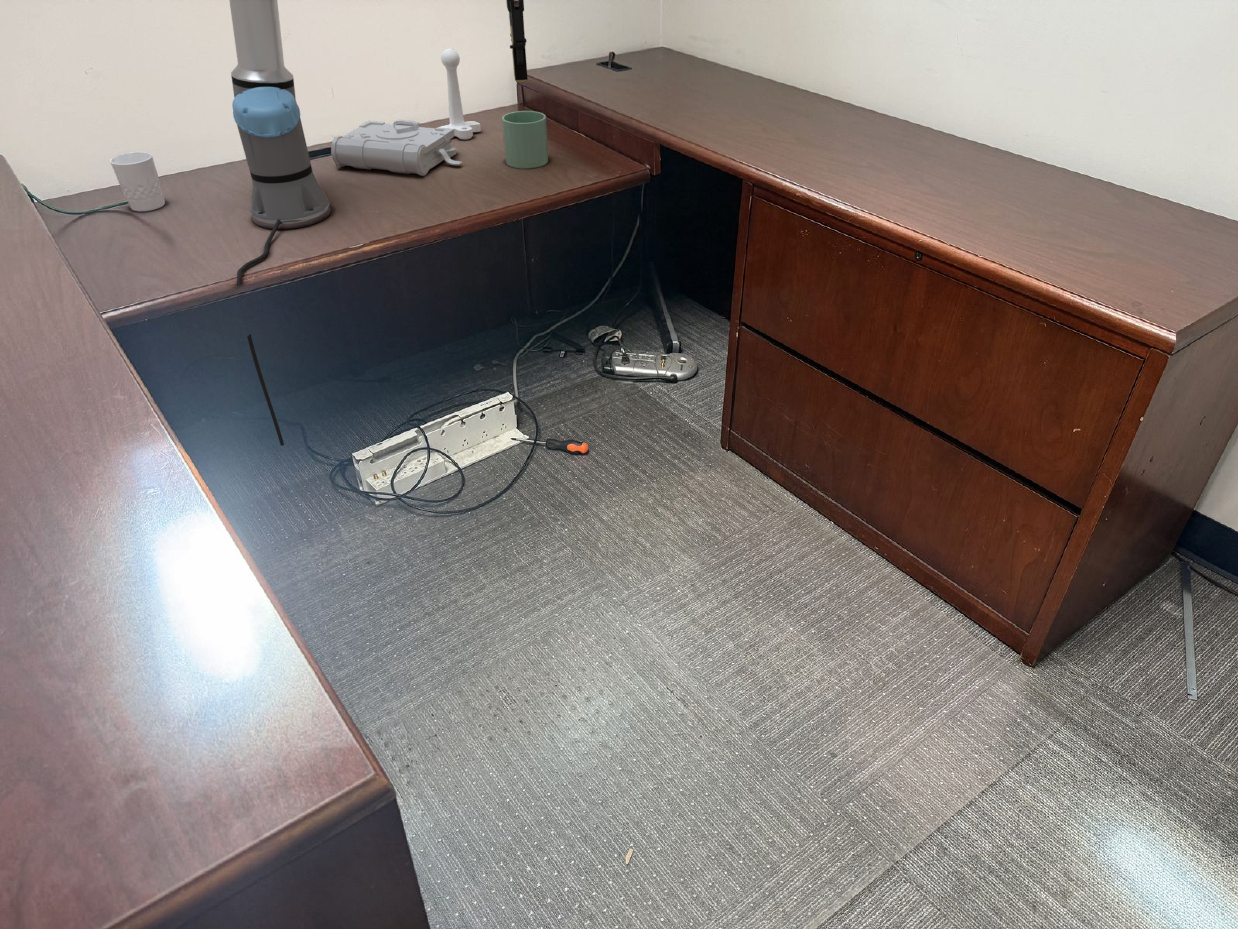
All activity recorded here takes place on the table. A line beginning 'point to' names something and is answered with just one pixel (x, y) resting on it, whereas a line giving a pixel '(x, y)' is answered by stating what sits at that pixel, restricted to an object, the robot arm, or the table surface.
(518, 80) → the marker
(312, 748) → the table surface
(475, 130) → the joystick
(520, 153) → the pen cup
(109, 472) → the table surface
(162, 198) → the white cup
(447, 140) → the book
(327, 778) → the table surface
